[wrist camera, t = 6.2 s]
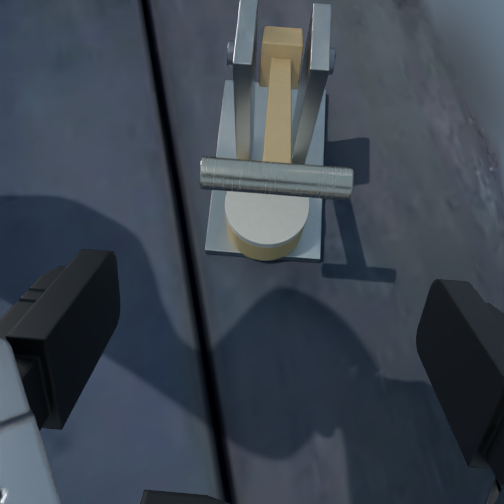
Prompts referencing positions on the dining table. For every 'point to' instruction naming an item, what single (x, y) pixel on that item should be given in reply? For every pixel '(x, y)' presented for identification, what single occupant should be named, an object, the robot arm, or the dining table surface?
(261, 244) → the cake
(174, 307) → the dining table surface
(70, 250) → the dining table surface
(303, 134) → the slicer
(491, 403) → the robot arm
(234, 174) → the wood and metal t-shape
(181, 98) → the dining table surface
